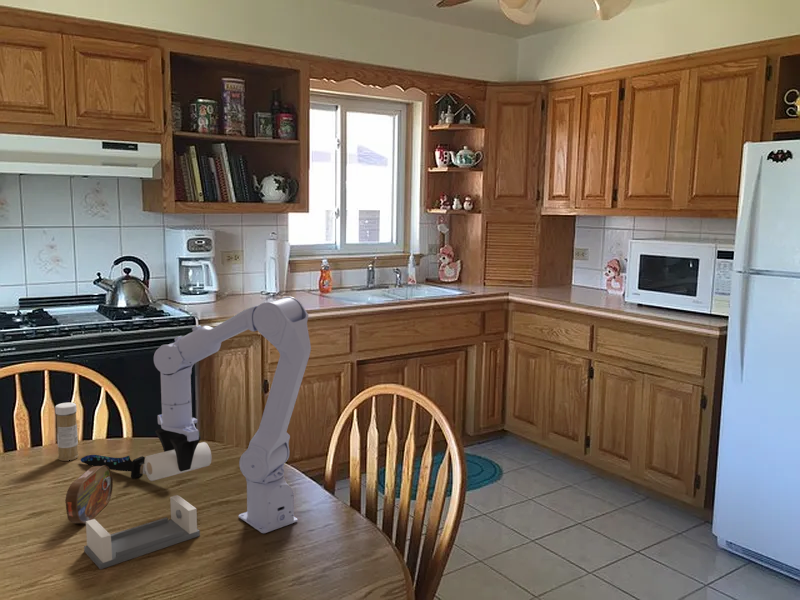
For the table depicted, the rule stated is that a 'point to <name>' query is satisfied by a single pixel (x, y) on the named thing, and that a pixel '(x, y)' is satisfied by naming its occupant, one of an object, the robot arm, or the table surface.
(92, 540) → the holder
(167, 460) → the cylinder
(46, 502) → the table surface
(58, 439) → the sprinkles bottle
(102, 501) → the tin
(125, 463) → the knife
